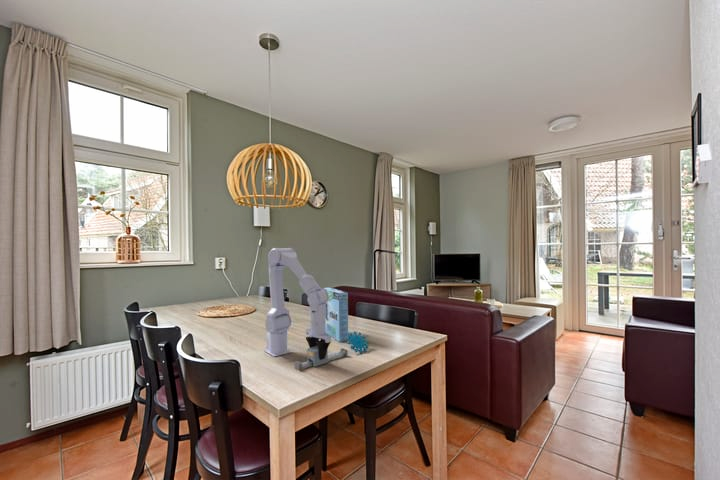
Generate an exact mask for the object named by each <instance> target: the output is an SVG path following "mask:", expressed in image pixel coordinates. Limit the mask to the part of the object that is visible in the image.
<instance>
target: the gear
mask: <svg viewBox="0 0 720 480" xmlns="http://www.w3.org/2000/svg"><path fill="white" fill-rule="evenodd" d="M356 334H357V335H356ZM361 335H362V333H361V332H358V333H357V331H353V332H350V333H348V338H347V339H348V341H347V345H350V347H349V348H350V350H354V352H355V353H358V352H359V353H360V354H363V353H365V352H367V350H368V347H369V344H368V343H369V342H370V341H371V340H370V339H369V338H368V339H366V336H365V335H362V336H361Z"/></svg>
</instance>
